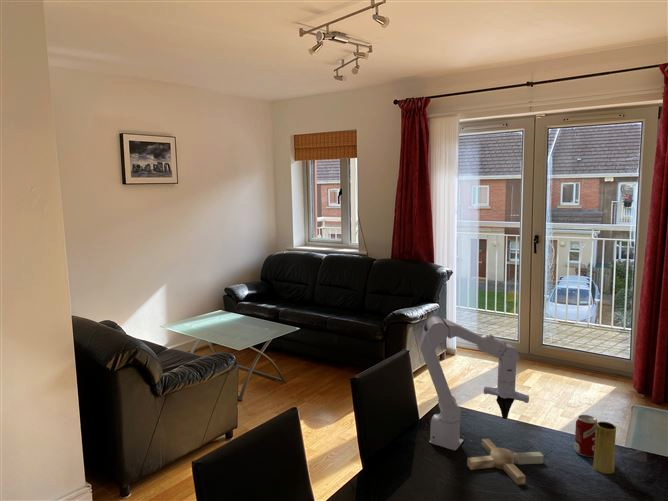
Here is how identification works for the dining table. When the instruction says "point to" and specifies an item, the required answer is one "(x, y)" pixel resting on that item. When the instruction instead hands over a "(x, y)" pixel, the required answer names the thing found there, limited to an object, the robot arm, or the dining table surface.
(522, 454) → the hinged leg
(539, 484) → the dining table surface
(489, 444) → the stool base
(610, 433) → the vase
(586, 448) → the soda can
